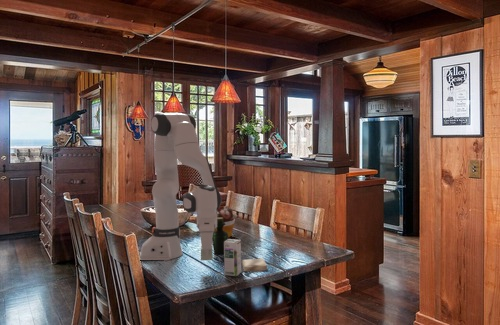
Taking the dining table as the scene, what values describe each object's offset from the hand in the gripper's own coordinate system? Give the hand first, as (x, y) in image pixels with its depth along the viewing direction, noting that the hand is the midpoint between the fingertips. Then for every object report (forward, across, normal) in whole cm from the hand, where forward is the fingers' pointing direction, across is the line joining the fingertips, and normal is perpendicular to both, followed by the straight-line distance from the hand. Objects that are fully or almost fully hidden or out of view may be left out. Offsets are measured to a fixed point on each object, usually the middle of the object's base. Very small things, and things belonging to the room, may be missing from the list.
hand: (206, 254), depth 170 cm
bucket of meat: (+8, -61, +8) cm, 62 cm away
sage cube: (+2, 0, 0) cm, 2 cm away
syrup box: (+8, +4, +11) cm, 14 cm away
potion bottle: (+8, -27, +6) cm, 29 cm away
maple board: (+7, -4, +21) cm, 23 cm away
